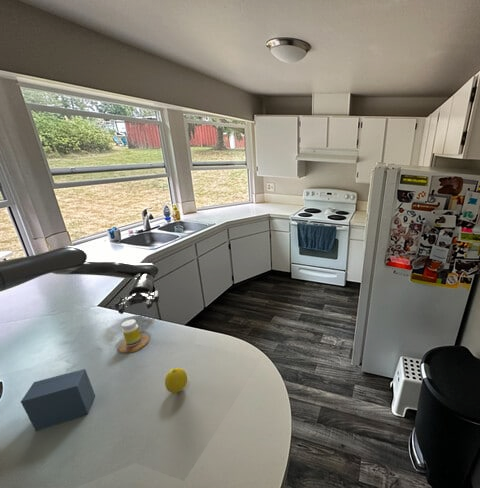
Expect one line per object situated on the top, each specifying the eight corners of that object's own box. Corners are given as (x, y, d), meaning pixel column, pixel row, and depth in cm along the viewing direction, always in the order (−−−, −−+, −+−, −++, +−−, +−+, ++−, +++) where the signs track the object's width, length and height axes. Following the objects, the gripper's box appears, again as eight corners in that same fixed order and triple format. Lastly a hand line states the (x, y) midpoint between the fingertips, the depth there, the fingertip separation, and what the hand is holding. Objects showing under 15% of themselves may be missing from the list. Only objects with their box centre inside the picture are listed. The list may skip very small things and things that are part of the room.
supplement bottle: (144, 340, 91) (139, 321, 88) (129, 348, 87) (124, 328, 84) (137, 335, 93) (132, 317, 90) (123, 343, 89) (117, 323, 87)
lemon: (162, 396, 72) (157, 375, 69) (177, 380, 77) (173, 360, 74) (179, 401, 70) (174, 379, 68) (193, 384, 75) (189, 364, 73)
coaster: (115, 356, 85) (115, 354, 84) (121, 339, 92) (121, 338, 92) (147, 348, 89) (147, 346, 88) (150, 333, 96) (150, 331, 96)
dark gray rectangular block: (35, 431, 62) (20, 401, 58) (47, 410, 67) (33, 381, 63) (88, 414, 66) (76, 386, 63) (95, 395, 71) (85, 368, 68)
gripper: (119, 285, 105) (108, 305, 92) (159, 279, 111) (154, 296, 98) (123, 300, 108) (114, 322, 94) (162, 293, 114) (158, 313, 100)
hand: (134, 309), depth 96 cm, fingers open, 8 cm apart
